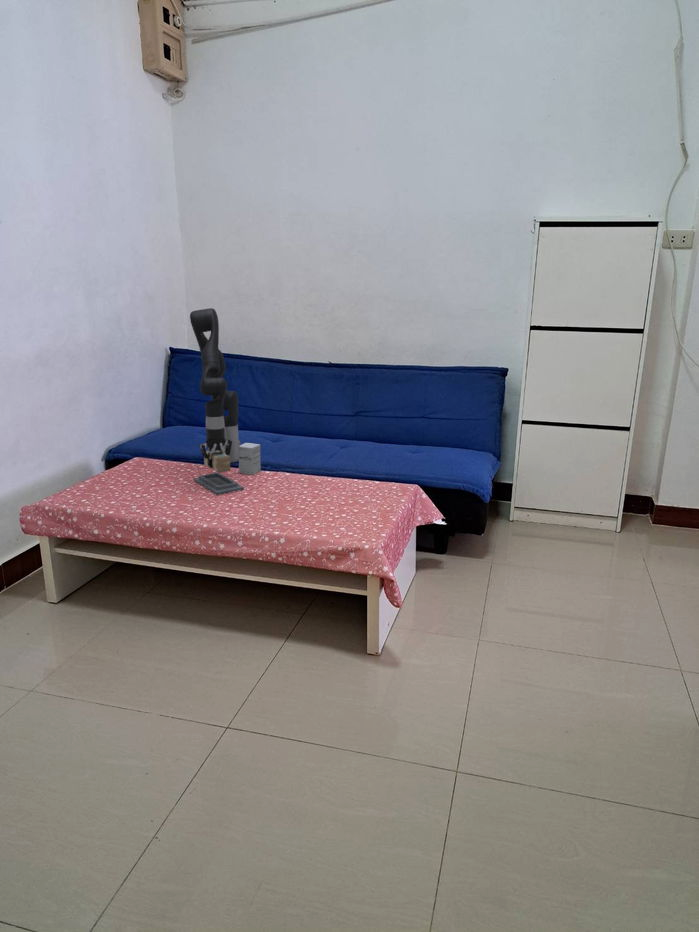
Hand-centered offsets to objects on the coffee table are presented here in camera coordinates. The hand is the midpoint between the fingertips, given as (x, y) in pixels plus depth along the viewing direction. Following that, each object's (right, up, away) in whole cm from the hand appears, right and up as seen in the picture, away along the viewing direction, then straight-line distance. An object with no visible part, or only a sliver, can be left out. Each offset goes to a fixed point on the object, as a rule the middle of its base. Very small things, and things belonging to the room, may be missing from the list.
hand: (216, 466), depth 274 cm
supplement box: (+11, -3, +21) cm, 24 cm away
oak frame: (0, -1, 0) cm, 1 cm away
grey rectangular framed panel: (0, -8, +3) cm, 9 cm away
